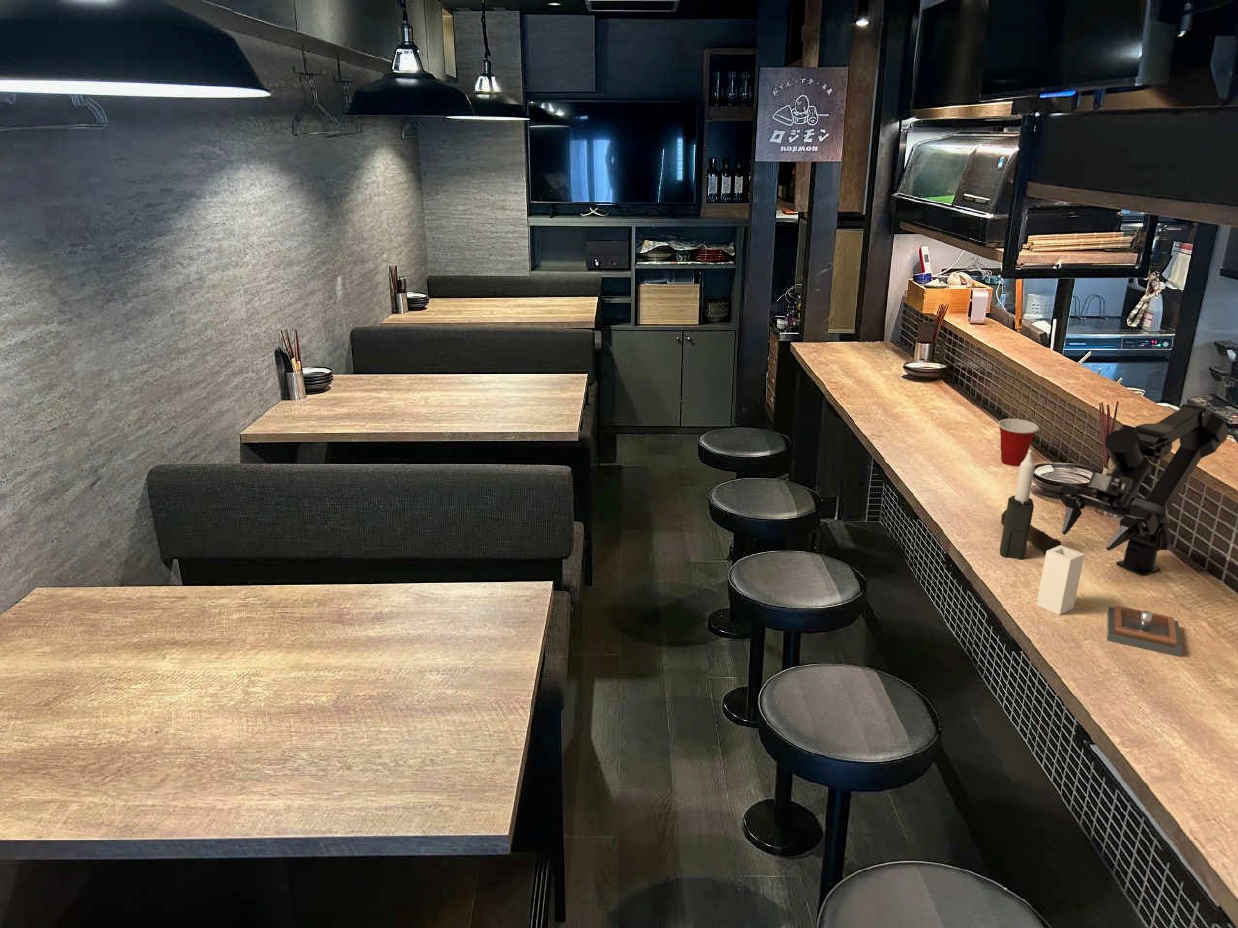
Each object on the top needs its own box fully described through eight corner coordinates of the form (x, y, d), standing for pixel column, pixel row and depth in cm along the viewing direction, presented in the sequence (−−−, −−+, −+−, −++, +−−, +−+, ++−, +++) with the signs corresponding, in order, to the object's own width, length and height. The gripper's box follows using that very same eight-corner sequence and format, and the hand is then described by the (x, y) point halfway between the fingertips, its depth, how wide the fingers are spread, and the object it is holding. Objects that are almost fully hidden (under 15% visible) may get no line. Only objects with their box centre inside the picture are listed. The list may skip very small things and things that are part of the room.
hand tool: (1060, 555, 209) (1064, 536, 208) (1044, 556, 209) (1048, 537, 207) (1010, 523, 227) (1014, 505, 225) (996, 524, 226) (999, 506, 225)
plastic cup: (991, 466, 266) (998, 426, 262) (992, 455, 276) (998, 416, 272) (1032, 471, 263) (1039, 431, 259) (1031, 460, 272) (1038, 421, 268)
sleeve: (1050, 598, 189) (1060, 545, 185) (1073, 608, 185) (1084, 554, 181) (1036, 604, 186) (1046, 550, 182) (1059, 614, 182) (1070, 559, 178)
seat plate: (1107, 613, 183) (1111, 592, 182) (1176, 627, 178) (1181, 607, 177) (1107, 640, 173) (1111, 619, 172) (1180, 656, 168) (1185, 634, 167)
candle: (1023, 551, 211) (1042, 447, 202) (1024, 560, 206) (1044, 454, 198) (999, 547, 212) (1017, 444, 204) (1000, 556, 208) (1018, 451, 199)
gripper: (1070, 445, 189) (1031, 505, 187) (1164, 471, 175) (1122, 537, 173) (1084, 474, 196) (1045, 533, 194) (1175, 502, 182) (1135, 565, 180)
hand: (1085, 541), depth 185 cm, fingers open, 9 cm apart
